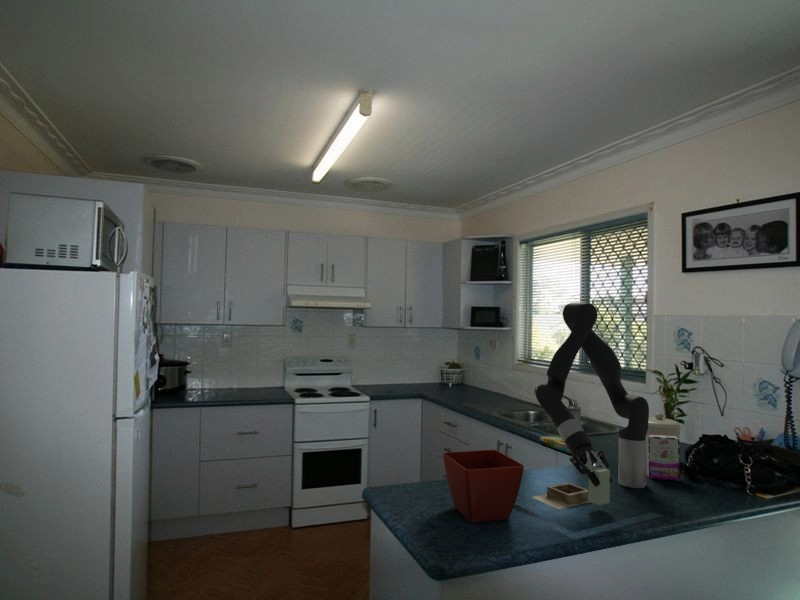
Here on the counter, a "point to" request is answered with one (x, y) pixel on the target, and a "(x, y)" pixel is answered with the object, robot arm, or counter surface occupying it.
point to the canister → (663, 426)
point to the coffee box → (576, 413)
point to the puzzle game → (555, 443)
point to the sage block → (600, 487)
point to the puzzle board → (564, 496)
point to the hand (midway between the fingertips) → (604, 483)
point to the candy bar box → (663, 457)
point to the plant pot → (483, 483)
